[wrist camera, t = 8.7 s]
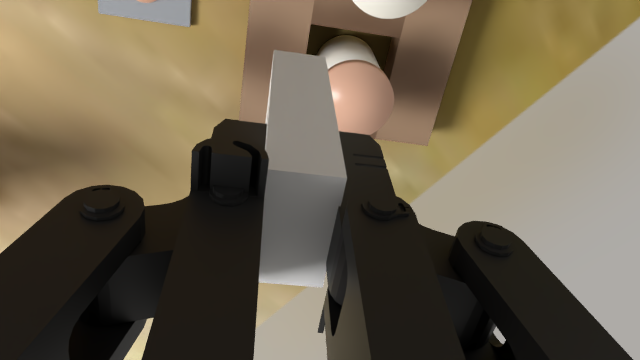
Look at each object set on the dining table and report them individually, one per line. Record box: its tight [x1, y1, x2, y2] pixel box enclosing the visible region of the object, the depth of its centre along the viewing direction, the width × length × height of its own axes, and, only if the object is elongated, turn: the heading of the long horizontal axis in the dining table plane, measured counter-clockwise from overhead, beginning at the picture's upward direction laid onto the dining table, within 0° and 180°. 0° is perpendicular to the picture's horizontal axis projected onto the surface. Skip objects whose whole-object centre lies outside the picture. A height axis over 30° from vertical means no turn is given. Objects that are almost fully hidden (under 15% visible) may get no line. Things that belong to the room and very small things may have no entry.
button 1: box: [316, 35, 394, 135], centre depth 34 cm, size 5×5×7 cm
